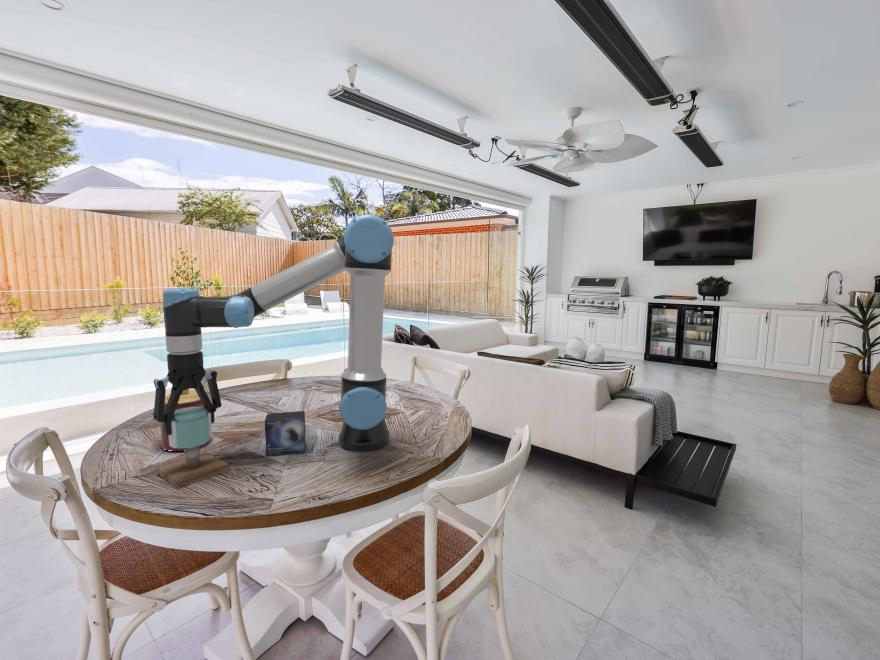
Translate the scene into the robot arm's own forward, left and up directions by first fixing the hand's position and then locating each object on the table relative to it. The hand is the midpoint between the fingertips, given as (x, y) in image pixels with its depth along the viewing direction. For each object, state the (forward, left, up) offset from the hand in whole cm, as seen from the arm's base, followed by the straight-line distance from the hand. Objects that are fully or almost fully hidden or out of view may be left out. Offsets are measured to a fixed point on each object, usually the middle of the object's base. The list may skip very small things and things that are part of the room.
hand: (191, 441), depth 106 cm
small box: (-7, -22, -8) cm, 25 cm away
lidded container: (0, 0, 0) cm, 0 cm away
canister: (+20, -7, -8) cm, 23 cm away
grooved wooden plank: (0, 0, -8) cm, 8 cm away
